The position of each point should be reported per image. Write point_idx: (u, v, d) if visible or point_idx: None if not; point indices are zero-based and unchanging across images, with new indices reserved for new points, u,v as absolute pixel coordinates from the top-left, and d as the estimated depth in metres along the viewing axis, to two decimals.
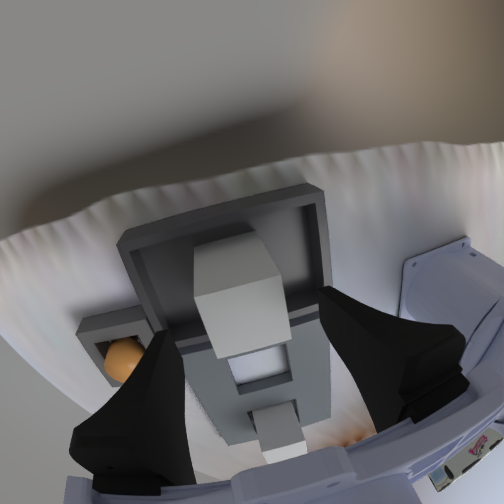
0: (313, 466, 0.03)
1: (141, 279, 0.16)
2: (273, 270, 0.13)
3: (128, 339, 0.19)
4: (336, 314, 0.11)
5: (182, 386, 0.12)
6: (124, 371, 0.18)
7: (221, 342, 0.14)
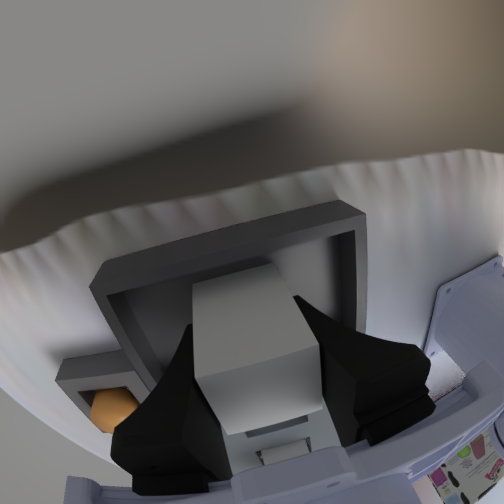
0: (313, 466, 0.03)
1: (125, 328, 0.12)
2: (307, 335, 0.09)
3: (116, 388, 0.14)
4: None
5: None
6: (114, 424, 0.13)
7: (233, 420, 0.09)
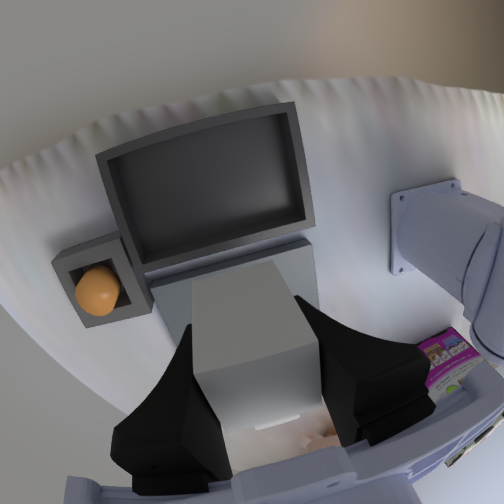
0: (313, 466, 0.03)
1: (116, 191, 0.16)
2: (306, 332, 0.09)
3: (102, 266, 0.18)
4: None
5: None
6: (95, 300, 0.17)
7: (231, 418, 0.09)
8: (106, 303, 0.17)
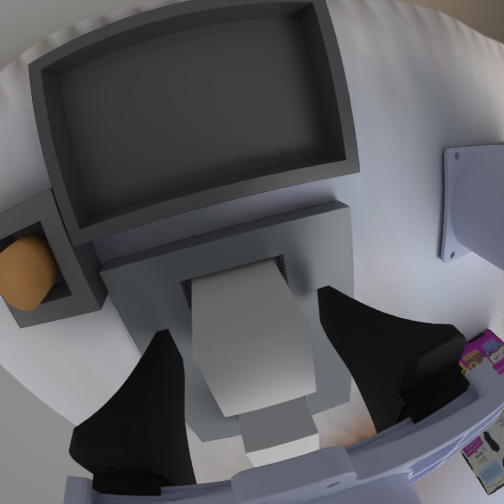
0: (313, 466, 0.03)
1: (49, 112, 0.08)
2: (298, 316, 0.10)
3: (32, 236, 0.10)
4: (336, 314, 0.11)
5: (182, 386, 0.12)
6: (17, 285, 0.09)
7: (229, 401, 0.10)
8: (31, 291, 0.10)
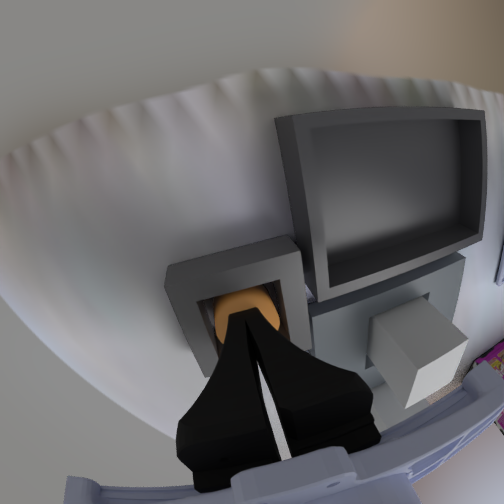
0: (313, 466, 0.03)
1: None
2: (460, 335, 0.13)
3: None
4: (253, 340, 0.11)
5: (257, 369, 0.12)
6: None
7: (414, 396, 0.13)
8: None
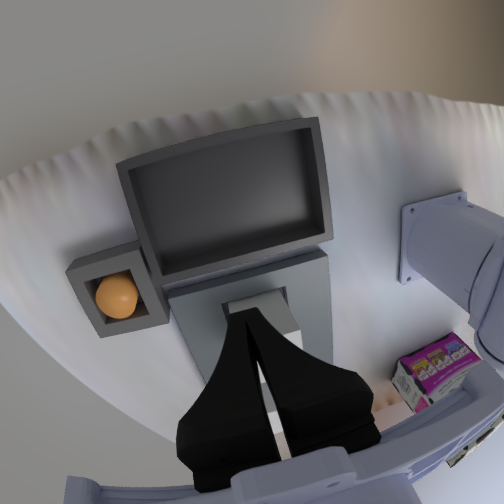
0: (313, 466, 0.03)
1: (137, 201, 0.16)
2: (294, 325, 0.18)
3: None
4: (253, 339, 0.11)
5: (257, 369, 0.12)
6: (116, 303, 0.18)
7: None
8: (127, 306, 0.18)
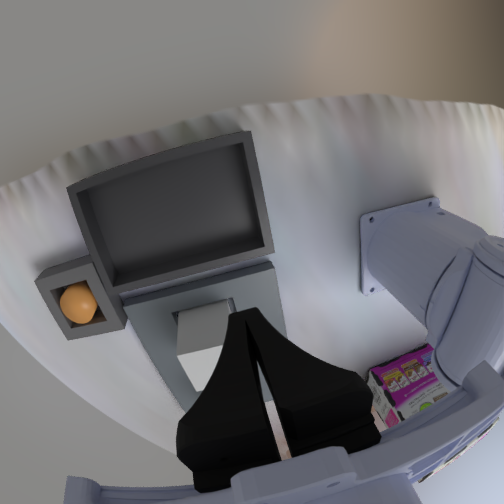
0: (313, 466, 0.03)
1: (86, 220, 0.16)
2: None
3: (83, 280, 0.20)
4: (253, 340, 0.11)
5: (257, 369, 0.12)
6: (77, 309, 0.19)
7: (198, 381, 0.19)
8: (86, 313, 0.19)
